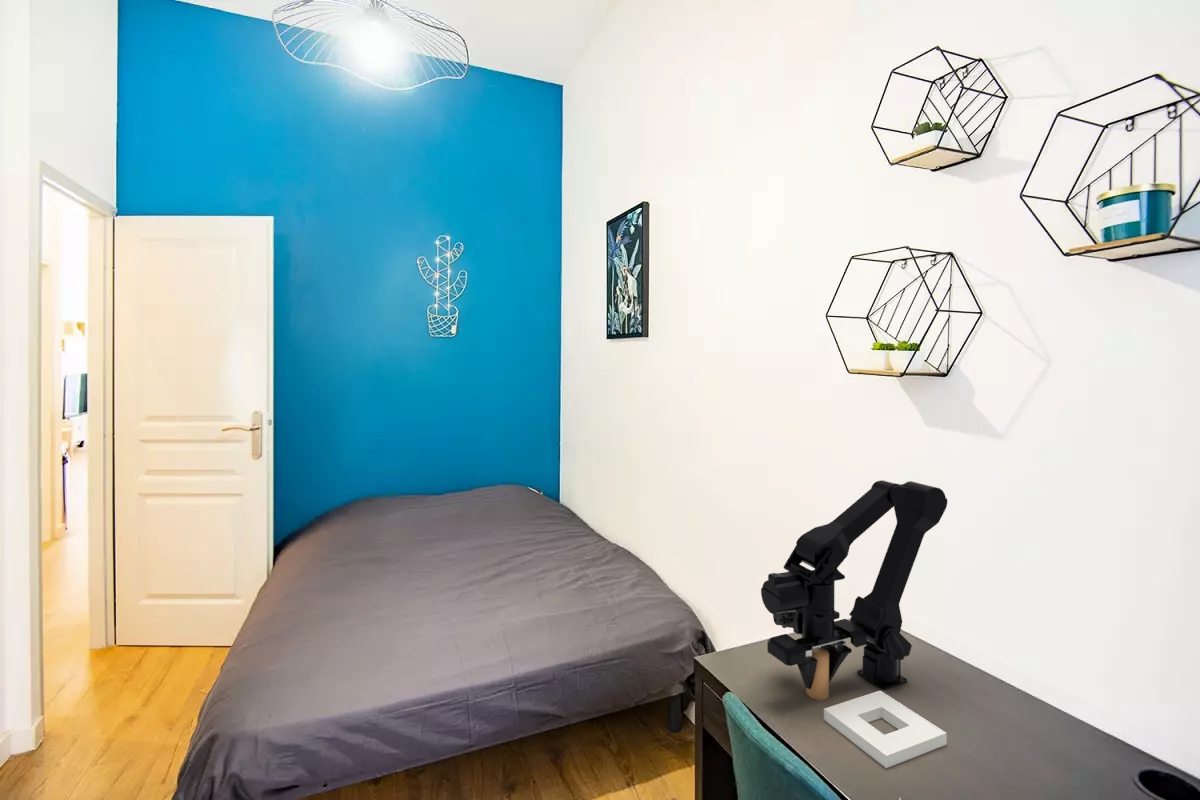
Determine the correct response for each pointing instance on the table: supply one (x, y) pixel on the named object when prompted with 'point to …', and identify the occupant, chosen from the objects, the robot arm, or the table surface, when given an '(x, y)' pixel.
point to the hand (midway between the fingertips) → (817, 685)
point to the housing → (887, 748)
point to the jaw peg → (820, 675)
